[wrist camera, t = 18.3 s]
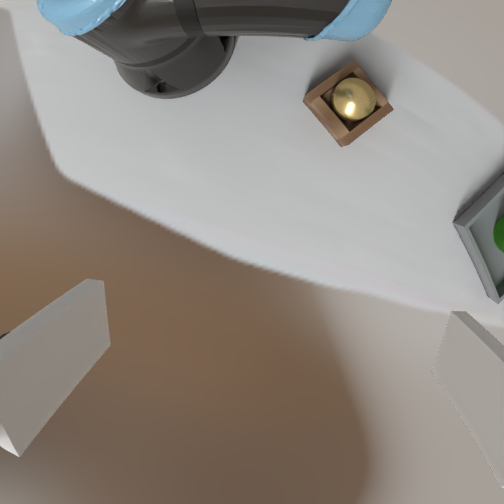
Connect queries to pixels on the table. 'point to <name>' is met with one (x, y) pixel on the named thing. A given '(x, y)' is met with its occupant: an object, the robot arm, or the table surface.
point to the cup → (499, 234)
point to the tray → (485, 238)
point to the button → (352, 99)
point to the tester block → (337, 127)
